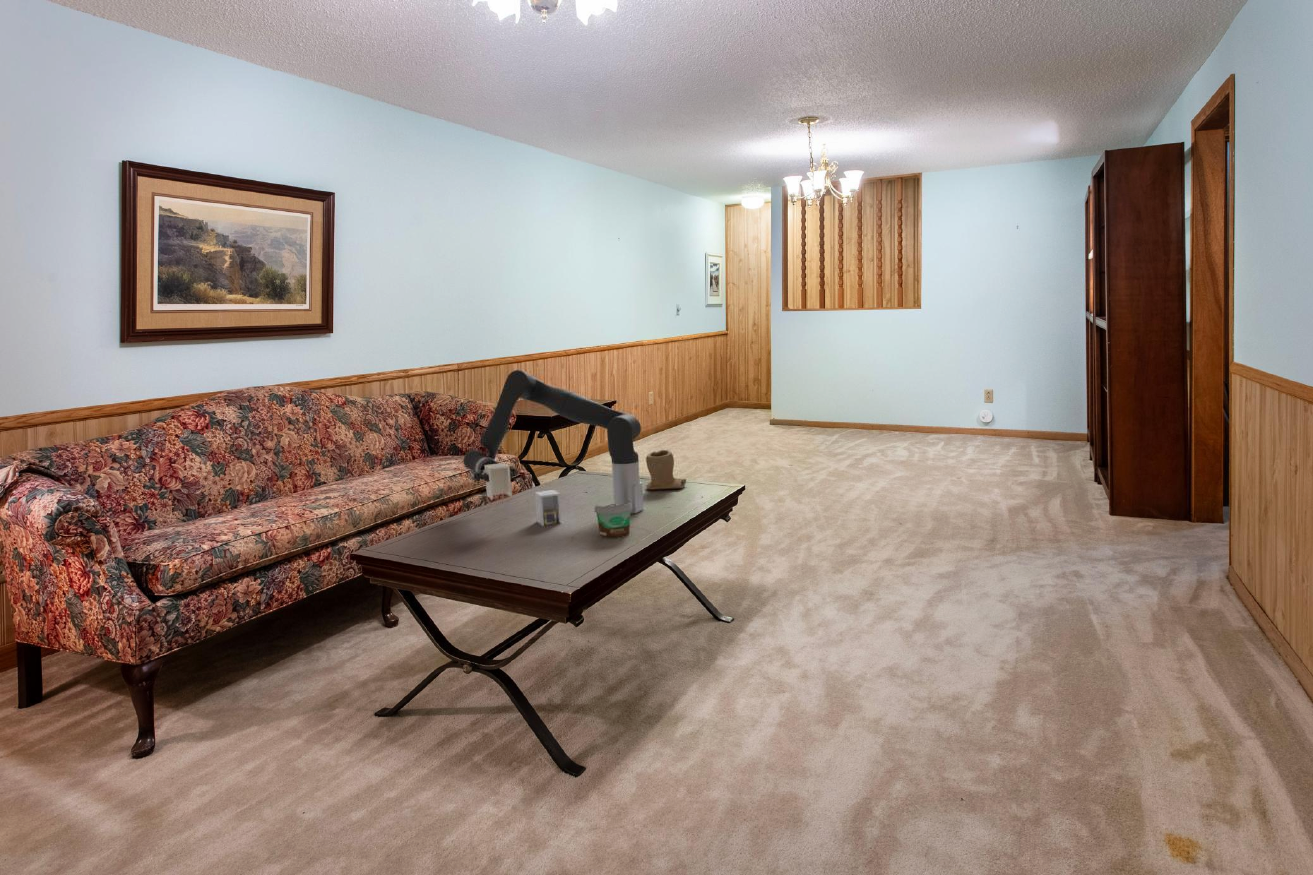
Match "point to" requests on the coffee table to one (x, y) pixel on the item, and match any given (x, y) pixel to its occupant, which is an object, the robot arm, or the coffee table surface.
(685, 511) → the coffee table surface
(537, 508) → the cover
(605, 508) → the food container
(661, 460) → the brown boot-shaped piece
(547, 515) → the letter cube
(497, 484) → the cover
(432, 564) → the coffee table surface
